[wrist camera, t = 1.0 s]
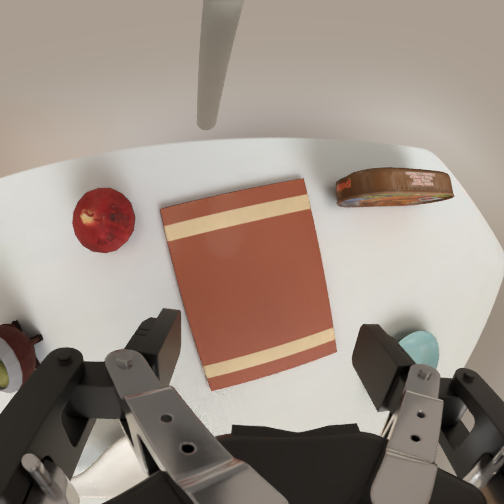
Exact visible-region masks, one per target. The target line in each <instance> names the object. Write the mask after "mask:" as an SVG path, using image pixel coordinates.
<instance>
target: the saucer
mask: <svg viewBox="0 0 504 504" xmlns="http://www.w3.org/2000/svg"><path fill="white" fill-rule="evenodd" d="M398 343H399V344H400V345H401V347H403V349H404V350H405V352H407V353H408V354H409V355H410V357H411V358H412V359H413V360H414V361H415V362H416V364H426V365H429V366H431V367H433V368H435V369H436V368H437V365H438V360H439V346H438V342H437V340H436V338H435V337H434V336H433V335H432V334H431V333H429V332H427V331H416V332H413V333H411V334H409V335H407V336H406V337H404V338H403V339H402V340H400V341H399V342H398Z"/></svg>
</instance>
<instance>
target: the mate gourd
mask: <svg viewBox="0 0 504 504" xmlns="http://www.w3.org/2000/svg"><path fill="white" fill-rule="evenodd" d="M42 340H43V337H42V335H41V334H38V335H36V336H34V337H32V338H30V339H29V338H28V337H27V336H26V335H25V334H24V333H23V331H22V329H21V327H20V325H19V323H18V321H17V320H16V321H13V322H12V324H2V325H0V391H3V392H7V393H12V392H15V391H18V390H19V389H20V388H21V387H22V385H23V384H24V383H25V382H26V380H27V379H28V378H29V377H30V376H31V374H32V373H33V372H34V371H35V368H37V367H38V366H39V365H40V363H39V361H38V360H37V358H36V355H35V350H34V344H36V343H38V342H40V341H42Z"/></svg>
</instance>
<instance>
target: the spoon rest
mask: <svg viewBox="0 0 504 504" xmlns="http://www.w3.org/2000/svg"><path fill="white" fill-rule="evenodd" d="M145 479H146V476H145V475H144V473H143V471H142V469H141V467H140V464H139V462H138V460H137V457H136V455H135V453H134V451H133V450H132V448H131V446H130V444H129V442H128V440H127V438H126V436H125V435H124V436H123V437H121V438H120V439H119V440H117V441H116V442H115V443H113V444H112V445H111V446H110V447H109V448H108V449H107V450H106V451H105V452H104V453H103V454H102V455H101V456H100V457H99V458H98V459H97V460H96V461H95V462H94V463H93V464H92V465H91V466H90V467H89V468H88V469H87V470H85V471H84V472H83V473H81V474H79V475H77V476H74V477H72V479H71V481H70V482H71V483H72V485H73V486H74V488H75V489H76V491H77V492H78V495H79V496H83V497H97V498H114V497H115V496H117V495H119V494H121V493H123V492H124V491H126V490H128V489H130V488H131V487H133V486H135V485H136V484H138V483H140V482H141V481H143V480H145Z"/></svg>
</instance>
